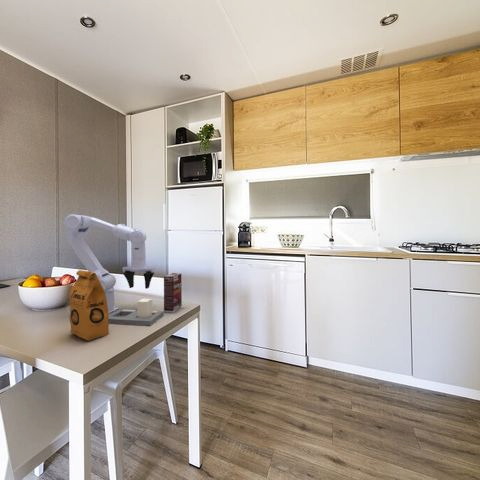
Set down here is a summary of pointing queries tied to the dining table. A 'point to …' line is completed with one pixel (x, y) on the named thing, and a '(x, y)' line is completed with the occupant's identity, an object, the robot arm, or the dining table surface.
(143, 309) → the plug block
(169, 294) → the supplement box
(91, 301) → the coffee package
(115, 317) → the jack panel
